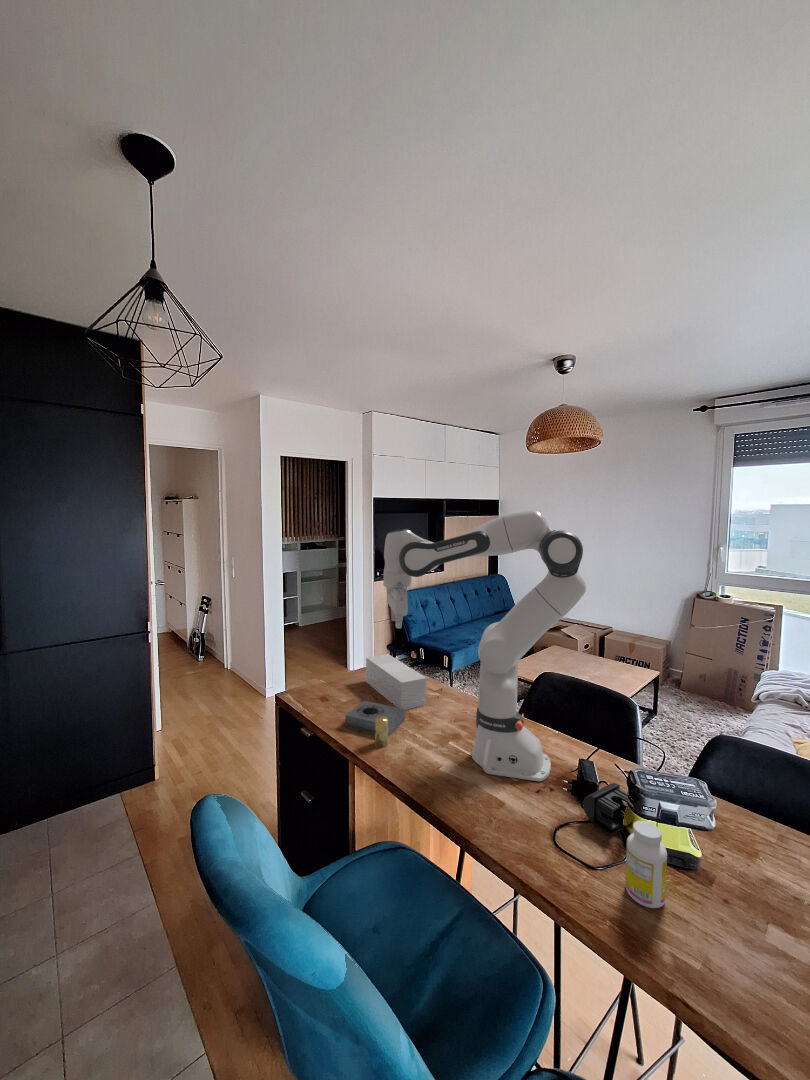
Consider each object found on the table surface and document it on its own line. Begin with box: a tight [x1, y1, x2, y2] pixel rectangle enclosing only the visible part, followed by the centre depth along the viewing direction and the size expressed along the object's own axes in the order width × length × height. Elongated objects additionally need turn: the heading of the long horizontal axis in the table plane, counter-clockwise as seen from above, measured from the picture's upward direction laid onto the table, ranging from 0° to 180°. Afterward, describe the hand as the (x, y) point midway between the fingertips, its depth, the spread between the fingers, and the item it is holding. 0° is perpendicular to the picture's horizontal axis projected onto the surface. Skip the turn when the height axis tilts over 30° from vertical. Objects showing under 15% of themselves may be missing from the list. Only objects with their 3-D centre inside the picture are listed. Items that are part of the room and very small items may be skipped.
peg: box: [374, 716, 389, 748], centre depth 135 cm, size 4×4×8 cm
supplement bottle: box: [625, 820, 668, 909], centre depth 82 cm, size 7×7×13 cm
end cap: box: [582, 782, 629, 836], centre depth 103 cm, size 10×7×7 cm
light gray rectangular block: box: [365, 653, 428, 711], centre depth 176 cm, size 32×11×11 cm, turn 29°
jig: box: [344, 700, 406, 738], centre depth 149 cm, size 16×13×4 cm
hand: (396, 624), depth 138 cm, fingers open, 8 cm apart
